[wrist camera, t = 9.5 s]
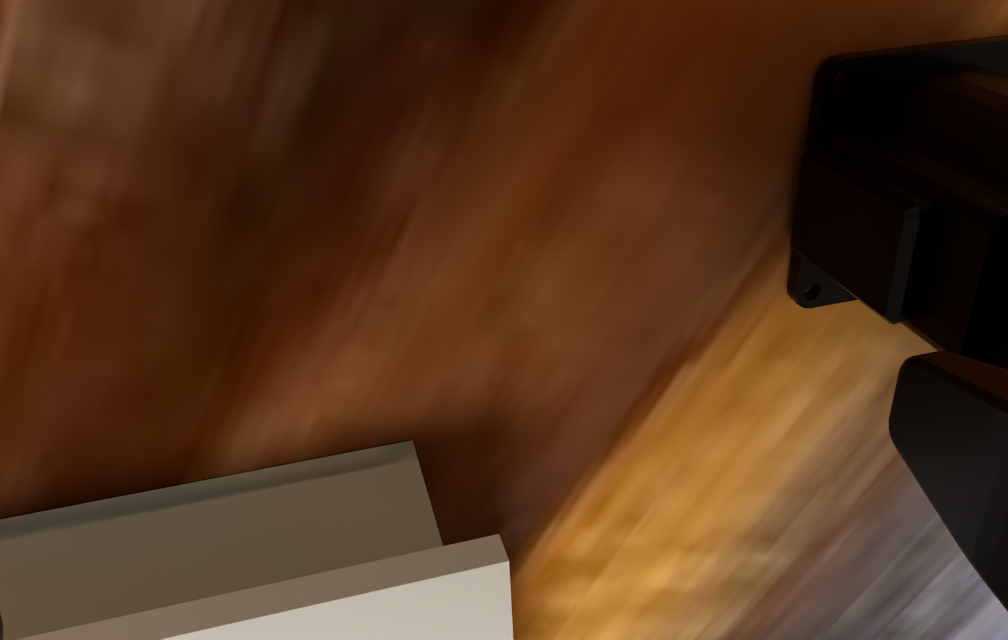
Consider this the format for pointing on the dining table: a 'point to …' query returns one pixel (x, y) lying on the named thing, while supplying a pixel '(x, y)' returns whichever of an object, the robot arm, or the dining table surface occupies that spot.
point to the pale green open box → (210, 538)
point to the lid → (344, 604)
